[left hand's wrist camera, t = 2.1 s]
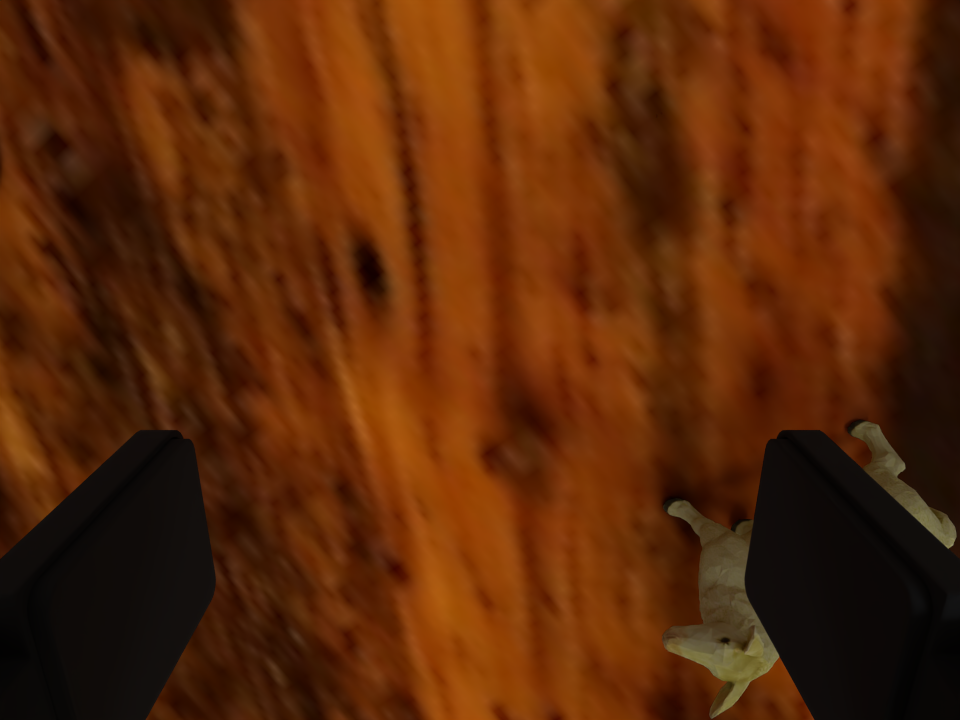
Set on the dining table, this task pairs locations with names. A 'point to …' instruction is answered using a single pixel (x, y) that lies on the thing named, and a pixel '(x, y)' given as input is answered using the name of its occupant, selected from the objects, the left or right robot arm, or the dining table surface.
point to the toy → (723, 601)
